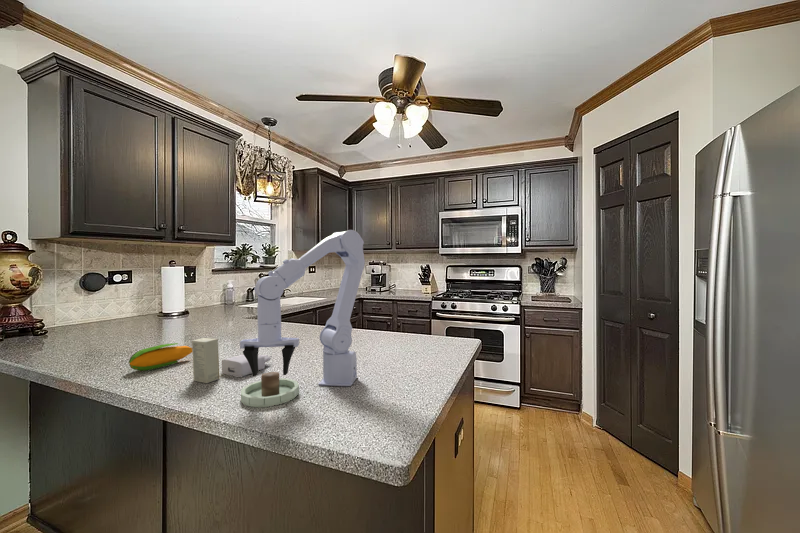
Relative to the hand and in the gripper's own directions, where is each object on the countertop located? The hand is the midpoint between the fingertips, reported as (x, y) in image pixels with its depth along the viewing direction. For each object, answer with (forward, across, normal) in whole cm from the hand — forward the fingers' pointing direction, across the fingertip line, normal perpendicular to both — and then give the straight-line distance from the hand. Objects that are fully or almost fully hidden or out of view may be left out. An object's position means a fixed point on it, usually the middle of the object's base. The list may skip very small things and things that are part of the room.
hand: (270, 374), depth 90 cm
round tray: (+6, 0, 0) cm, 6 cm away
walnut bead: (+5, 0, 0) cm, 5 cm away
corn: (+6, +44, -31) cm, 54 cm away
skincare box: (+6, +23, -14) cm, 28 cm away
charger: (+6, +13, -24) cm, 28 cm away
